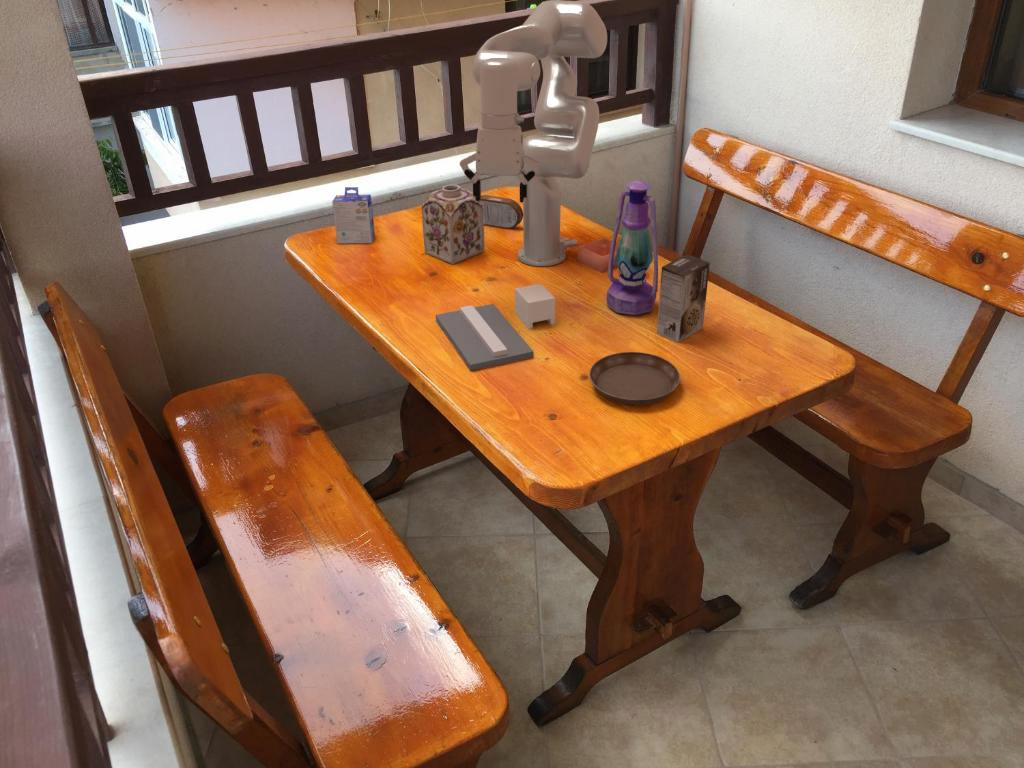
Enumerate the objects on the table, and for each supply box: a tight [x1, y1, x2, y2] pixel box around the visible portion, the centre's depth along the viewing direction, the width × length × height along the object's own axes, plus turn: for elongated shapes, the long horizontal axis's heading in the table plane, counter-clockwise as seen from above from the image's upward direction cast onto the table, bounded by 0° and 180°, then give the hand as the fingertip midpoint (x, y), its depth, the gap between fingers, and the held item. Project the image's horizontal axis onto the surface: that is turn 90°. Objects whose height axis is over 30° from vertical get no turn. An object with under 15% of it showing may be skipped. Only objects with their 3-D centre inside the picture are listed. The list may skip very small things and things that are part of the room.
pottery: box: [577, 237, 621, 275], centre depth 216 cm, size 18×10×10 cm, turn 39°
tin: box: [480, 194, 523, 230], centre depth 241 cm, size 15×3×8 cm, turn 66°
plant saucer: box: [588, 351, 681, 407], centre depth 170 cm, size 18×18×3 cm
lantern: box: [606, 180, 659, 316], centre depth 192 cm, size 13×12×30 cm
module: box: [514, 283, 556, 330], centre depth 194 cm, size 6×8×6 cm
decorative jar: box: [421, 184, 485, 265], centre depth 223 cm, size 12×12×18 cm
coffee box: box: [656, 253, 711, 343], centre depth 185 cm, size 9×6×16 cm
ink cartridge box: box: [331, 186, 376, 244], centre depth 232 cm, size 10×6×14 cm, turn 89°
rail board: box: [435, 303, 534, 372], centre depth 187 cm, size 14×24×3 cm, turn 22°
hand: (500, 200), depth 189 cm, fingers open, 9 cm apart
